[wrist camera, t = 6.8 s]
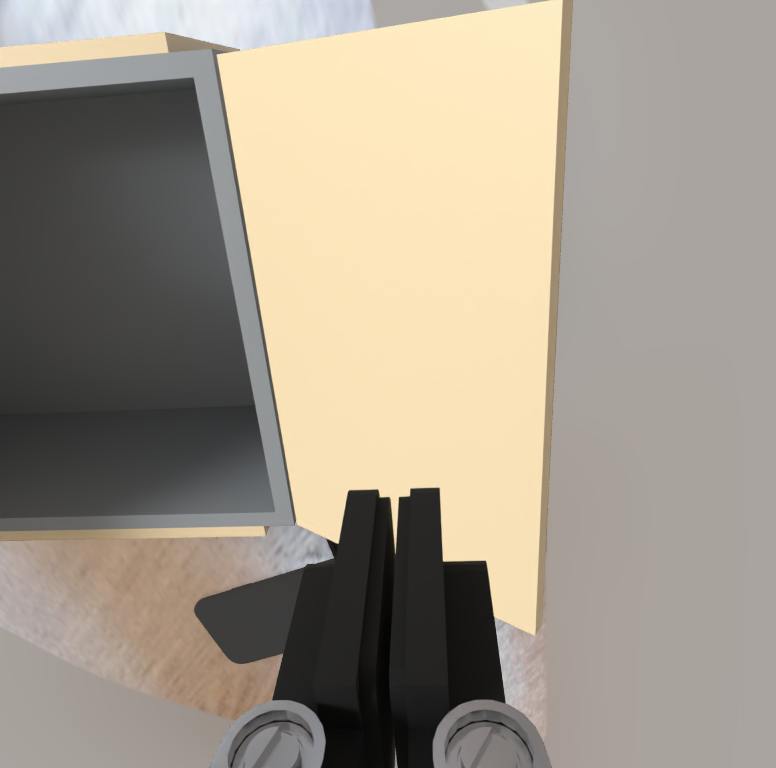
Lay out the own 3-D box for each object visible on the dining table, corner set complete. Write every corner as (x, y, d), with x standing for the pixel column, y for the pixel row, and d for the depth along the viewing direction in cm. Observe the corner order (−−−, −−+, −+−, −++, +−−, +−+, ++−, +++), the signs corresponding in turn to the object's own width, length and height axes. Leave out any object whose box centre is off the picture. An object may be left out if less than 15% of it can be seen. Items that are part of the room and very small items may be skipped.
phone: (399, 621, 47) (234, 667, 51) (400, 613, 48) (237, 659, 51) (360, 552, 45) (187, 605, 48) (361, 544, 45) (191, 597, 48)
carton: (-148, 89, 33) (-430, 87, 22) (284, 51, 31) (208, 27, 20) (-10, 428, 42) (-162, 544, 31) (331, 415, 40) (296, 535, 29)
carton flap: (562, -2, 13) (572, 0, 14) (216, 54, 20) (230, 54, 21) (535, 635, 22) (542, 624, 22) (297, 524, 29) (305, 517, 29)
